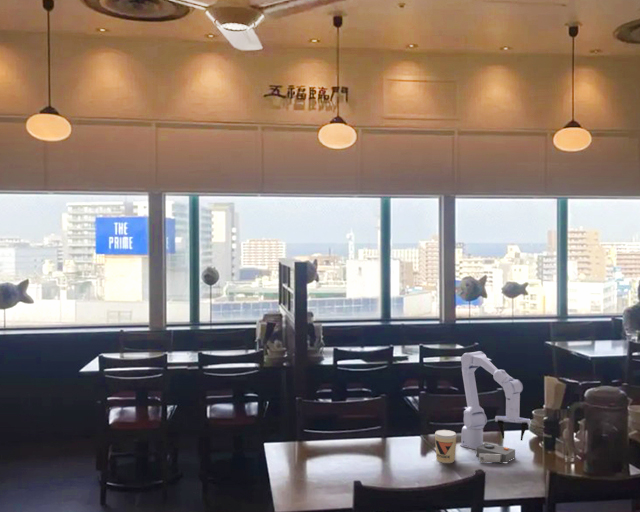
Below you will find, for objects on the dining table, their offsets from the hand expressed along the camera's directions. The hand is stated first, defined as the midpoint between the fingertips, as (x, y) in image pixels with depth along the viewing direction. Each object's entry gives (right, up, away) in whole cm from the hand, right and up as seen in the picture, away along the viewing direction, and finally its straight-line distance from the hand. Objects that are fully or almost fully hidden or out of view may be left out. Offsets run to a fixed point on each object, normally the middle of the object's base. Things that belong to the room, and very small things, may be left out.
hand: (512, 438), depth 276 cm
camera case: (-6, -10, +4) cm, 12 cm away
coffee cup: (-29, -10, +1) cm, 31 cm away
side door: (-10, -9, -3) cm, 14 cm away
